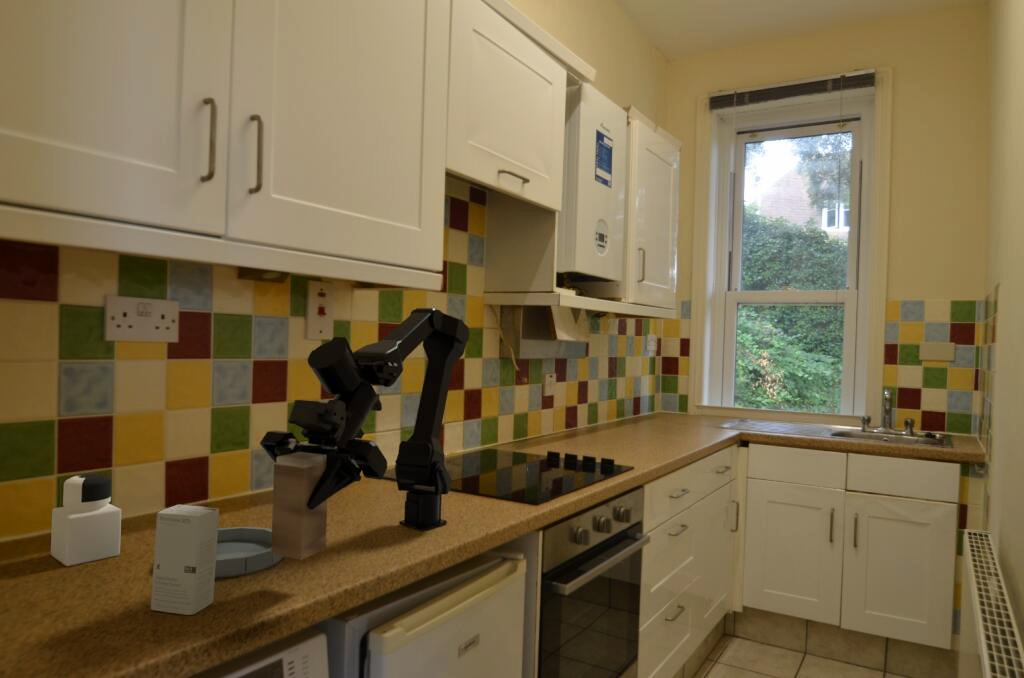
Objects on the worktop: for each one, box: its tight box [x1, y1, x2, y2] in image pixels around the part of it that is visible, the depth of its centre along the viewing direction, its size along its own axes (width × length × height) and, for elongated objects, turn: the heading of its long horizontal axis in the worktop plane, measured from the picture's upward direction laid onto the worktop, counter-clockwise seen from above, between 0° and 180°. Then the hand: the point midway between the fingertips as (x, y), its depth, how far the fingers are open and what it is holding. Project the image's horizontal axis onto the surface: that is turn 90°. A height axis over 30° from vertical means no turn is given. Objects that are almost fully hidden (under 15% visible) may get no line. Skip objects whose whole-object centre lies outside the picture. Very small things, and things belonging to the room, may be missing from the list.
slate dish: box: [215, 526, 285, 579], centre depth 98 cm, size 16×16×2 cm
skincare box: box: [150, 504, 220, 616], centre depth 81 cm, size 6×4×12 cm
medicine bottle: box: [50, 473, 122, 567], centre depth 98 cm, size 7×7×12 cm
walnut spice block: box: [271, 452, 328, 561], centre depth 88 cm, size 5×5×13 cm
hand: (293, 505), depth 87 cm, fingers closed on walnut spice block, 5 cm apart
